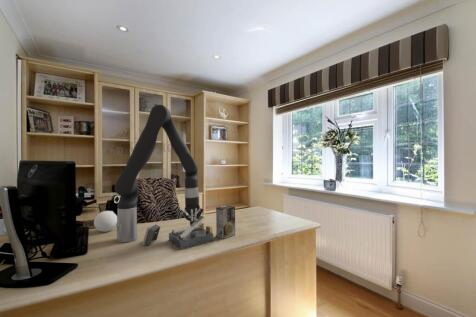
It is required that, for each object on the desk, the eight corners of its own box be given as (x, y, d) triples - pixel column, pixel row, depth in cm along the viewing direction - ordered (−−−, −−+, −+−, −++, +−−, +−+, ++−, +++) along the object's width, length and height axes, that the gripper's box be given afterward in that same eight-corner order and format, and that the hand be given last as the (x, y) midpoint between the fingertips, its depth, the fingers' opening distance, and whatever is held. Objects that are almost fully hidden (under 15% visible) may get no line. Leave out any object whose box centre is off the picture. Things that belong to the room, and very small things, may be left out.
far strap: (174, 234, 118) (174, 232, 118) (172, 233, 120) (172, 230, 120) (200, 228, 127) (200, 226, 127) (198, 227, 129) (197, 225, 129)
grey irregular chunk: (150, 239, 123) (151, 222, 123) (159, 240, 123) (161, 223, 122) (141, 246, 114) (143, 227, 113) (152, 247, 113) (153, 228, 113)
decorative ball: (121, 230, 138) (121, 210, 138) (99, 236, 128) (99, 214, 128) (111, 226, 145) (111, 207, 145) (90, 231, 135) (90, 211, 135)
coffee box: (228, 232, 134) (227, 204, 134) (235, 235, 129) (235, 206, 129) (215, 236, 127) (215, 207, 127) (223, 239, 123) (223, 209, 123)
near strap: (182, 239, 111) (181, 238, 111) (180, 238, 113) (179, 236, 113) (204, 218, 118) (203, 216, 118) (202, 217, 121) (200, 215, 120)
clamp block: (180, 249, 109) (180, 235, 109) (168, 240, 121) (168, 227, 121) (213, 241, 120) (213, 227, 120) (199, 233, 132) (199, 221, 132)
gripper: (183, 198, 118) (184, 231, 118) (205, 195, 126) (207, 226, 127) (177, 196, 124) (178, 228, 124) (199, 193, 132) (200, 223, 132)
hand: (193, 227), depth 125 cm, fingers closed
